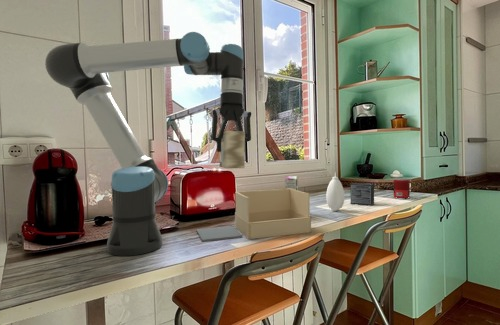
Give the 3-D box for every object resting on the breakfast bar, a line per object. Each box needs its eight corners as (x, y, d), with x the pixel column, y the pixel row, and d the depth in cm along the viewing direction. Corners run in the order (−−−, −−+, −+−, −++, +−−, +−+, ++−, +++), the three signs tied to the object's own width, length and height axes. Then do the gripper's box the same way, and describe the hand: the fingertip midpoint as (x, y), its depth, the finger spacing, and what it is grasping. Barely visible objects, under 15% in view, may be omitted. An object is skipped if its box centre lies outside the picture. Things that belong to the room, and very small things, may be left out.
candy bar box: (287, 212, 134) (287, 175, 134) (298, 212, 133) (298, 175, 133) (285, 217, 123) (285, 178, 123) (297, 218, 122) (297, 178, 122)
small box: (374, 204, 151) (374, 183, 151) (372, 206, 146) (372, 184, 146) (353, 202, 157) (353, 182, 157) (350, 204, 152) (350, 183, 151)
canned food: (412, 199, 164) (412, 179, 164) (397, 199, 164) (397, 179, 164) (405, 196, 172) (405, 177, 171) (391, 196, 172) (391, 177, 172)
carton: (248, 239, 95) (248, 198, 94) (235, 227, 110) (234, 191, 109) (311, 232, 102) (311, 194, 101) (290, 221, 117) (290, 188, 116)
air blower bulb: (337, 208, 141) (337, 170, 140) (347, 211, 134) (347, 171, 133) (323, 209, 139) (323, 171, 138) (332, 213, 131) (332, 172, 130)
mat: (202, 241, 93) (202, 239, 93) (196, 230, 105) (196, 229, 105) (242, 237, 97) (242, 235, 97) (232, 227, 109) (232, 225, 109)
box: (226, 168, 95) (226, 130, 95) (219, 166, 105) (219, 132, 104) (244, 168, 97) (244, 131, 97) (236, 166, 107) (236, 132, 106)
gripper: (205, 88, 94) (205, 162, 95) (262, 93, 100) (261, 162, 101) (201, 93, 101) (201, 161, 102) (254, 96, 107) (253, 161, 108)
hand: (231, 161), depth 102 cm, fingers closed on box, 6 cm apart
